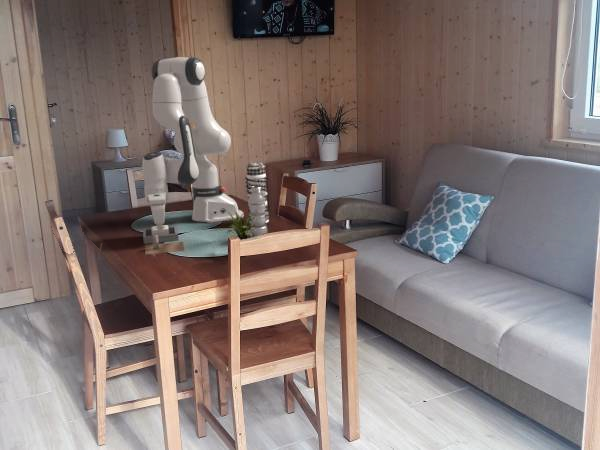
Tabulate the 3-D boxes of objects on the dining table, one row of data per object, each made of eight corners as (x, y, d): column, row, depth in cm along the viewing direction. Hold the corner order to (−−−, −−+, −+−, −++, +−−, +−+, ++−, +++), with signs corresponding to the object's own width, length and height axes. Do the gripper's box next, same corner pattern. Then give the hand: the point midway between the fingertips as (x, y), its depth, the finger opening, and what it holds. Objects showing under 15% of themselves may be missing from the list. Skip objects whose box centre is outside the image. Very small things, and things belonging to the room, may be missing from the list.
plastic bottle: (261, 241, 254) (258, 189, 249) (247, 239, 258) (243, 188, 253) (271, 236, 259) (268, 186, 254) (256, 234, 263) (253, 184, 258)
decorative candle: (267, 224, 278) (263, 164, 271) (245, 224, 279) (241, 165, 273) (272, 219, 286) (268, 161, 280) (251, 218, 288) (247, 161, 282)
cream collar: (168, 234, 265) (167, 225, 264) (169, 238, 259) (168, 229, 258) (152, 236, 264) (151, 226, 263) (152, 240, 258) (151, 230, 257)
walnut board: (183, 244, 255) (181, 229, 253) (184, 253, 243) (183, 237, 242) (145, 248, 252) (143, 232, 250) (145, 257, 240) (143, 241, 239)
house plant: (211, 256, 237) (208, 212, 233) (235, 246, 249) (232, 203, 245) (244, 261, 230) (241, 215, 226) (267, 250, 241) (264, 206, 237)
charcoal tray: (177, 234, 269) (176, 225, 268) (178, 242, 257) (178, 234, 256) (144, 237, 266) (143, 229, 265) (144, 246, 254) (143, 237, 253)
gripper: (148, 190, 266) (151, 224, 270) (148, 201, 247) (152, 237, 250) (164, 189, 267) (167, 222, 271) (165, 199, 248) (169, 235, 252)
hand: (160, 230), depth 260 cm, fingers open, 8 cm apart
